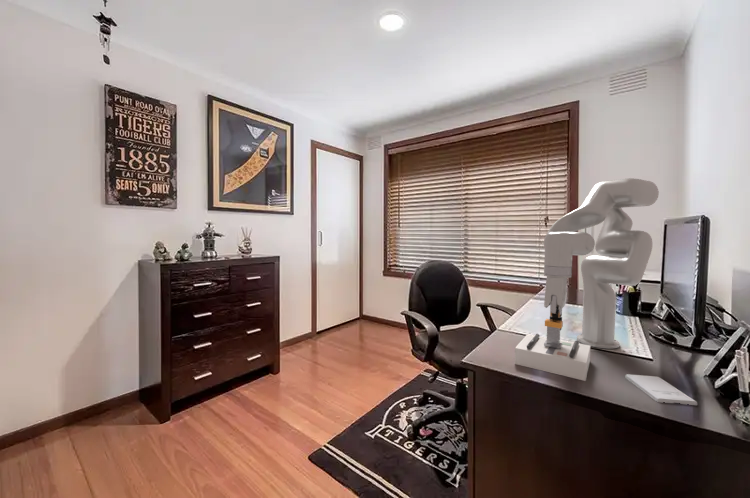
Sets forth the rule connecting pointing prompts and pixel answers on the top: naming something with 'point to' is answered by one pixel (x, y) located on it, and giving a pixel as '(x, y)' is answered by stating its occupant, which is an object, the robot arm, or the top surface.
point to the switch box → (554, 357)
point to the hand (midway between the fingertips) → (555, 329)
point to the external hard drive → (660, 389)
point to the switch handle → (553, 333)
